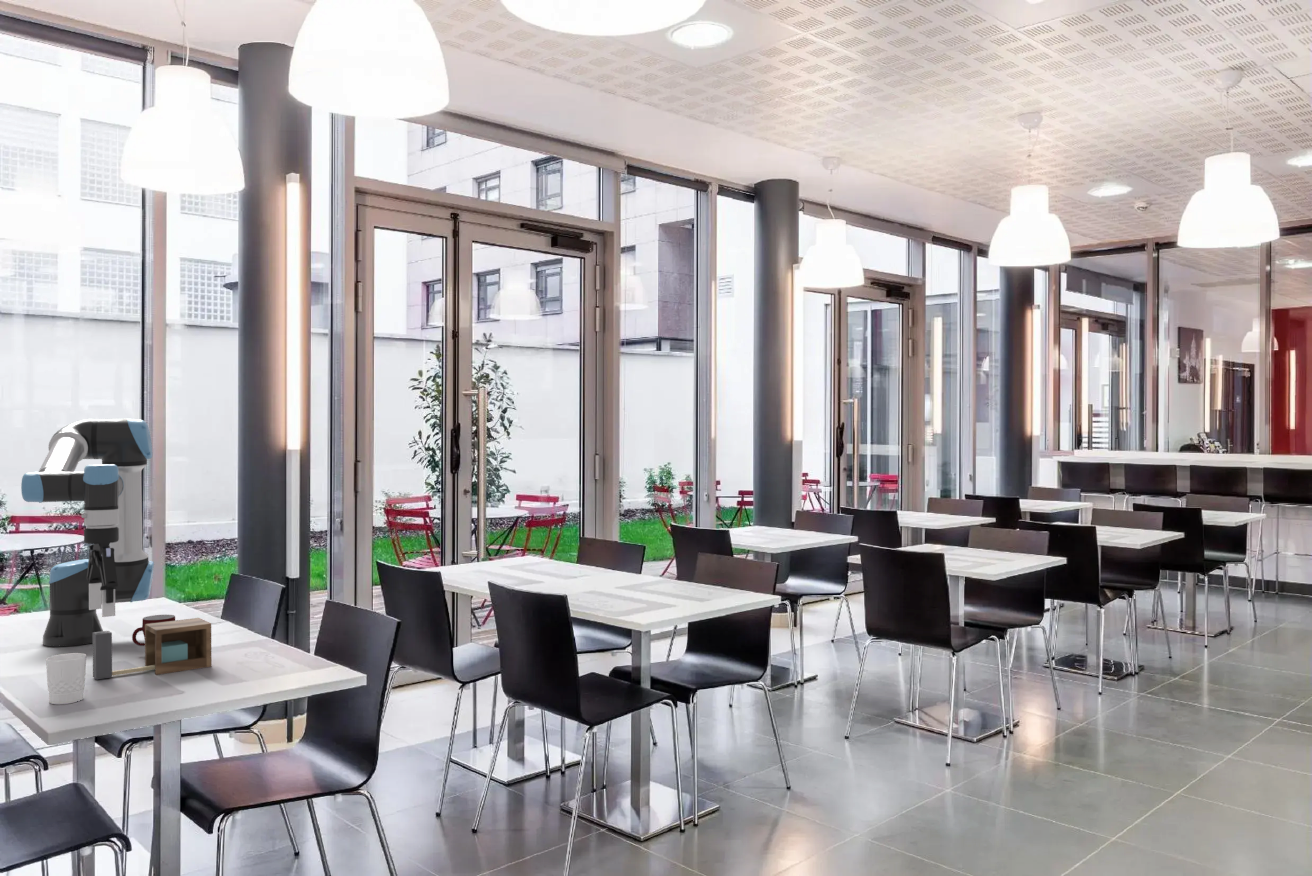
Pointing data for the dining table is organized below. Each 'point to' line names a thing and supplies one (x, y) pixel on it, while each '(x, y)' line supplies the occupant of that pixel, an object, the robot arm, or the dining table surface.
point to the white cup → (66, 677)
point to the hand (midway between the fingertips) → (101, 612)
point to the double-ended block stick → (104, 668)
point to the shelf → (185, 630)
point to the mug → (147, 621)
